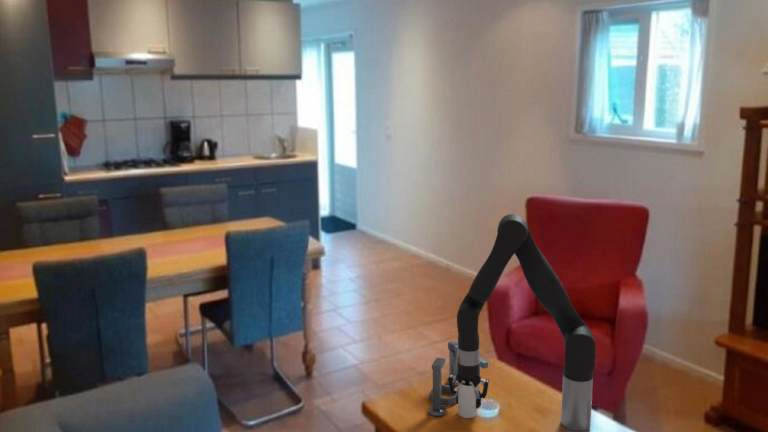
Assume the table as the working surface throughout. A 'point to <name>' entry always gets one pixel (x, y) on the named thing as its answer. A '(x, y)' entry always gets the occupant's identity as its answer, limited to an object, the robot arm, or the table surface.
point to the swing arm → (454, 347)
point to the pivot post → (453, 365)
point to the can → (467, 401)
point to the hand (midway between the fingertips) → (468, 406)
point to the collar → (445, 400)
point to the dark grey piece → (437, 390)
